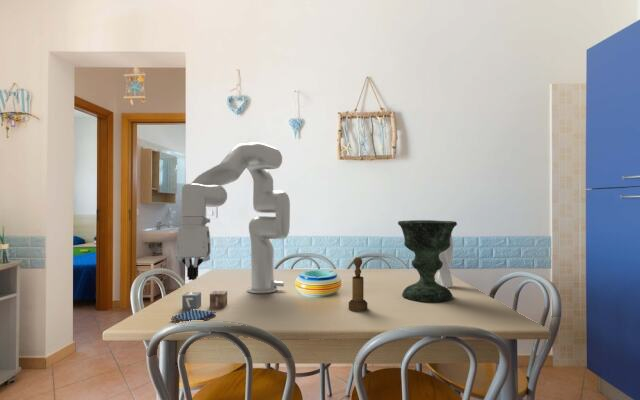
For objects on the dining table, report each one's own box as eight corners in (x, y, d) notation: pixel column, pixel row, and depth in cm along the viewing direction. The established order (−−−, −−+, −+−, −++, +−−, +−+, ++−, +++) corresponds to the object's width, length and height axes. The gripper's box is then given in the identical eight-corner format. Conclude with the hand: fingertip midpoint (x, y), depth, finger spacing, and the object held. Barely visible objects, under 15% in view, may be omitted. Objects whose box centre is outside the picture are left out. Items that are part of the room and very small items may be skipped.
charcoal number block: (201, 306, 137) (201, 291, 138) (196, 310, 132) (196, 295, 132) (187, 306, 138) (187, 291, 138) (182, 310, 132) (182, 295, 132)
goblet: (402, 289, 164) (401, 219, 164) (457, 293, 156) (457, 220, 157) (393, 301, 143) (393, 222, 144) (457, 306, 136) (456, 222, 136)
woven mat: (191, 314, 129) (191, 308, 129) (217, 317, 125) (217, 311, 125) (168, 323, 119) (168, 316, 119) (196, 327, 115) (196, 320, 115)
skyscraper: (443, 284, 175) (442, 223, 176) (457, 287, 168) (457, 224, 169) (430, 286, 171) (429, 224, 171) (444, 289, 164) (443, 225, 164)
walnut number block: (227, 304, 139) (227, 290, 140) (223, 308, 134) (223, 293, 134) (213, 304, 139) (213, 290, 140) (209, 308, 134) (209, 293, 134)
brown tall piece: (355, 312, 128) (354, 259, 129) (345, 308, 134) (344, 257, 134) (371, 310, 131) (370, 258, 132) (360, 305, 137) (360, 255, 137)
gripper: (219, 222, 126) (219, 277, 125) (174, 221, 126) (173, 277, 125) (213, 222, 119) (212, 281, 118) (165, 222, 119) (164, 281, 118)
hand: (192, 279), depth 122 cm, fingers closed
